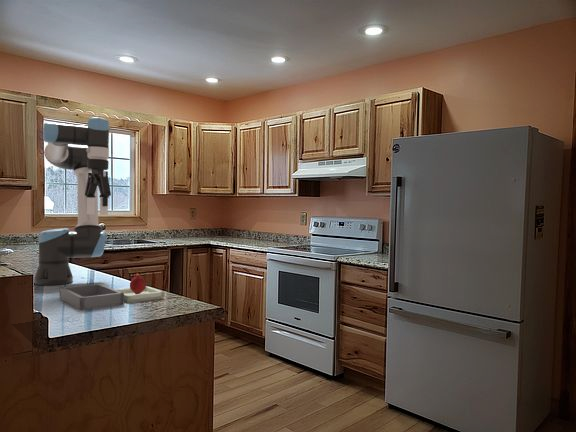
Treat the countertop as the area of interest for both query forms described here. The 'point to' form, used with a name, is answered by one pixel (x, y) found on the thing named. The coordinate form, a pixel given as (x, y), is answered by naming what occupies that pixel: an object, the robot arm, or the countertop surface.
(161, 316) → the countertop surface
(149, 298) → the tray
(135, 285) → the onion
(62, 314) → the countertop surface
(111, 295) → the bin
